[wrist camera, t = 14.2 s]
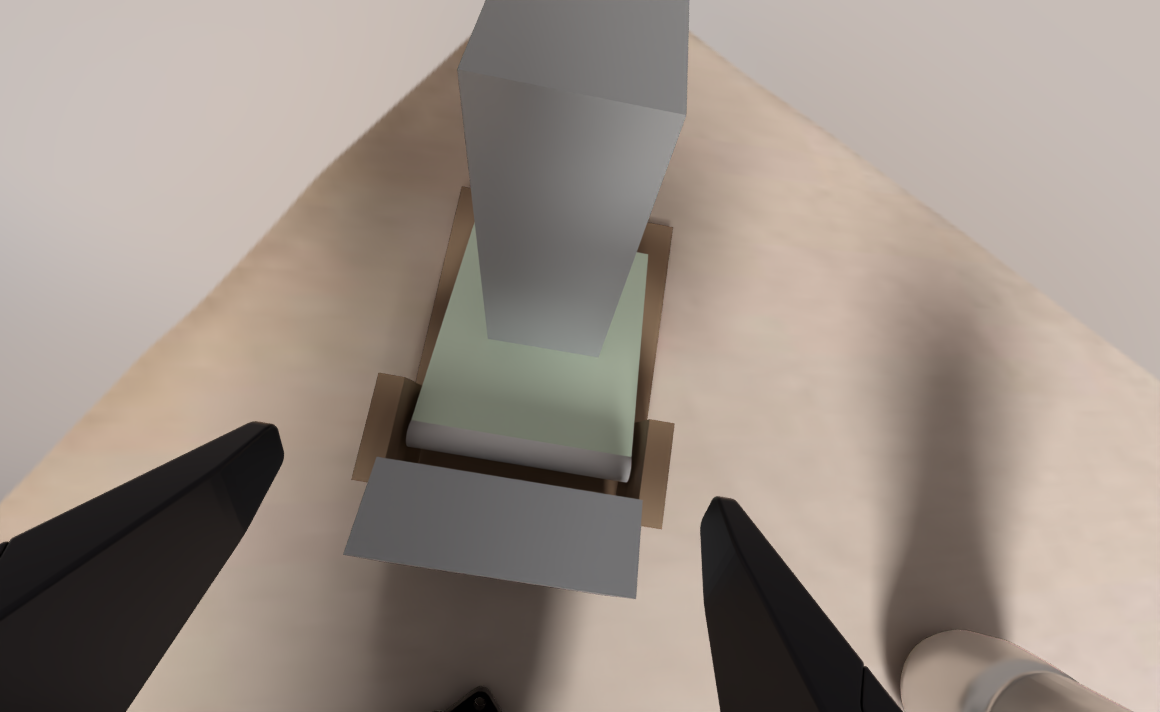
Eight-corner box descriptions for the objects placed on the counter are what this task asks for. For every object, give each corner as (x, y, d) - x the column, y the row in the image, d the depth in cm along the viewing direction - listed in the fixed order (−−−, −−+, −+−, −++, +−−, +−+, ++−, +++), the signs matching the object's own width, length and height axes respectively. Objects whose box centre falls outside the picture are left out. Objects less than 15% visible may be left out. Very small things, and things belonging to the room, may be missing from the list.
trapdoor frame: (631, 519, 23) (660, 543, 17) (395, 481, 22) (347, 493, 17) (670, 231, 26) (704, 175, 20) (463, 191, 25) (442, 122, 20)
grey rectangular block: (598, 357, 21) (686, 114, 10) (487, 338, 20) (457, 68, 10) (609, 269, 23) (689, -5, 12) (509, 251, 23) (504, -45, 12)
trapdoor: (603, 595, 20) (635, 599, 14) (391, 563, 19) (343, 554, 14) (632, 292, 27) (661, 220, 21) (479, 264, 26) (470, 182, 21)
